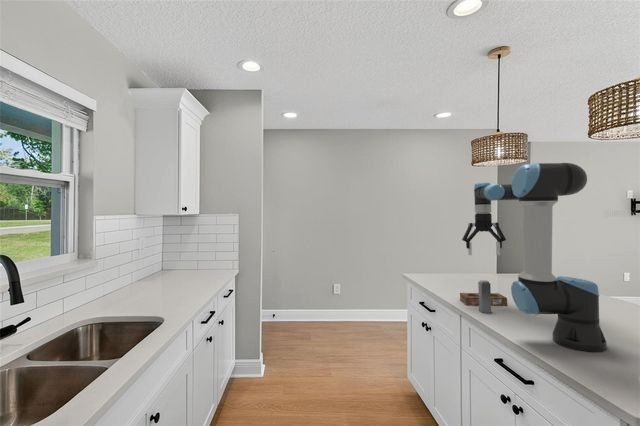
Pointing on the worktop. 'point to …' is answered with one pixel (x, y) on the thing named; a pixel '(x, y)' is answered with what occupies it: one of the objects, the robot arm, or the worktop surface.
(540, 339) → the worktop surface
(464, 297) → the socket block
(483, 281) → the plug
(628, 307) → the worktop surface
